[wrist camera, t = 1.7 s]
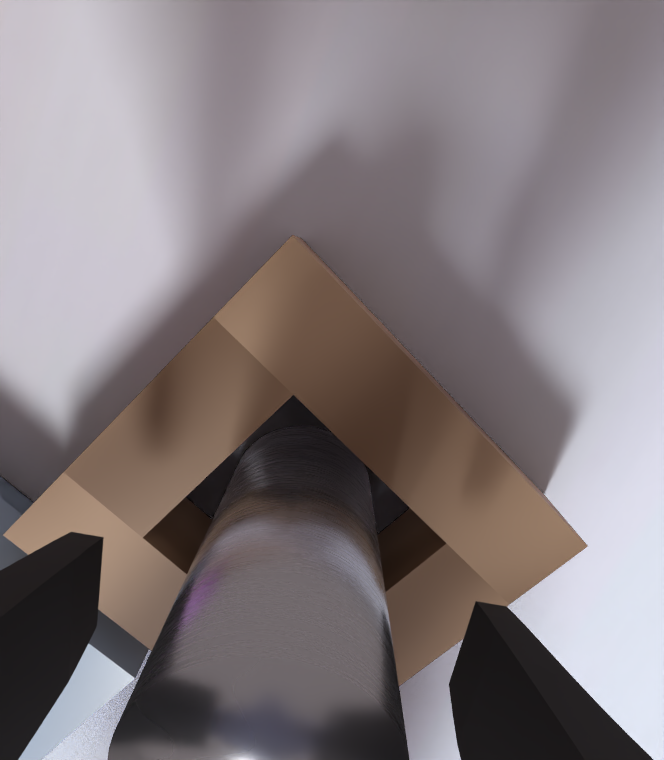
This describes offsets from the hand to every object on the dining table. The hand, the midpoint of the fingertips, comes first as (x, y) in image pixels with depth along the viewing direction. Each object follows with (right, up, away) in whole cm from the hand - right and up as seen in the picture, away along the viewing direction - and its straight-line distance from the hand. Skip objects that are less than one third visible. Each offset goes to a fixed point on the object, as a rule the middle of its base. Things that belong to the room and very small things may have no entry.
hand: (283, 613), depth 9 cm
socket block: (0, +1, +5) cm, 5 cm away
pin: (0, +1, +5) cm, 5 cm away
